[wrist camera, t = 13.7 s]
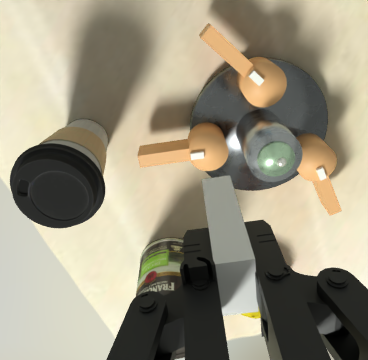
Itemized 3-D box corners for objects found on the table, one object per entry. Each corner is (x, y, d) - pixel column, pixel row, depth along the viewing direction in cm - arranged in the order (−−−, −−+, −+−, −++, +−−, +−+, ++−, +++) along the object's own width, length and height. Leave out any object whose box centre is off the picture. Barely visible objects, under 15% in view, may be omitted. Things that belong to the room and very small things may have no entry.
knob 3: (282, 143, 46) (293, 158, 42) (317, 126, 45) (331, 140, 41) (308, 204, 51) (321, 223, 46) (340, 190, 50) (356, 209, 45)
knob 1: (222, 119, 44) (227, 133, 40) (225, 153, 46) (230, 169, 42) (138, 132, 45) (134, 146, 41) (145, 165, 47) (142, 182, 43)
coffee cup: (41, 112, 45) (-14, 160, 32) (111, 99, 45) (84, 143, 31) (65, 175, 50) (25, 240, 36) (129, 164, 49) (112, 227, 36)
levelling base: (162, 117, 46) (159, 150, 36) (279, 25, 41) (312, 34, 31) (238, 206, 53) (252, 254, 43) (346, 137, 48) (390, 173, 38)
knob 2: (284, 74, 42) (296, 83, 37) (256, 105, 43) (265, 116, 39) (217, 10, 38) (222, 12, 34) (189, 45, 40) (191, 51, 36)
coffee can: (127, 255, 57) (113, 328, 44) (180, 227, 54) (181, 296, 42) (162, 293, 61) (159, 369, 48) (212, 268, 58) (223, 342, 46)
